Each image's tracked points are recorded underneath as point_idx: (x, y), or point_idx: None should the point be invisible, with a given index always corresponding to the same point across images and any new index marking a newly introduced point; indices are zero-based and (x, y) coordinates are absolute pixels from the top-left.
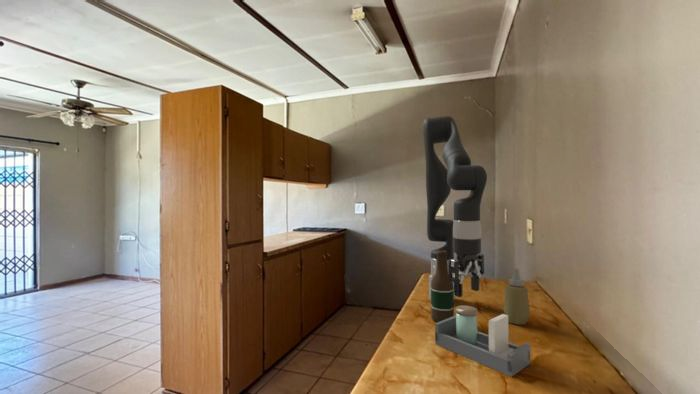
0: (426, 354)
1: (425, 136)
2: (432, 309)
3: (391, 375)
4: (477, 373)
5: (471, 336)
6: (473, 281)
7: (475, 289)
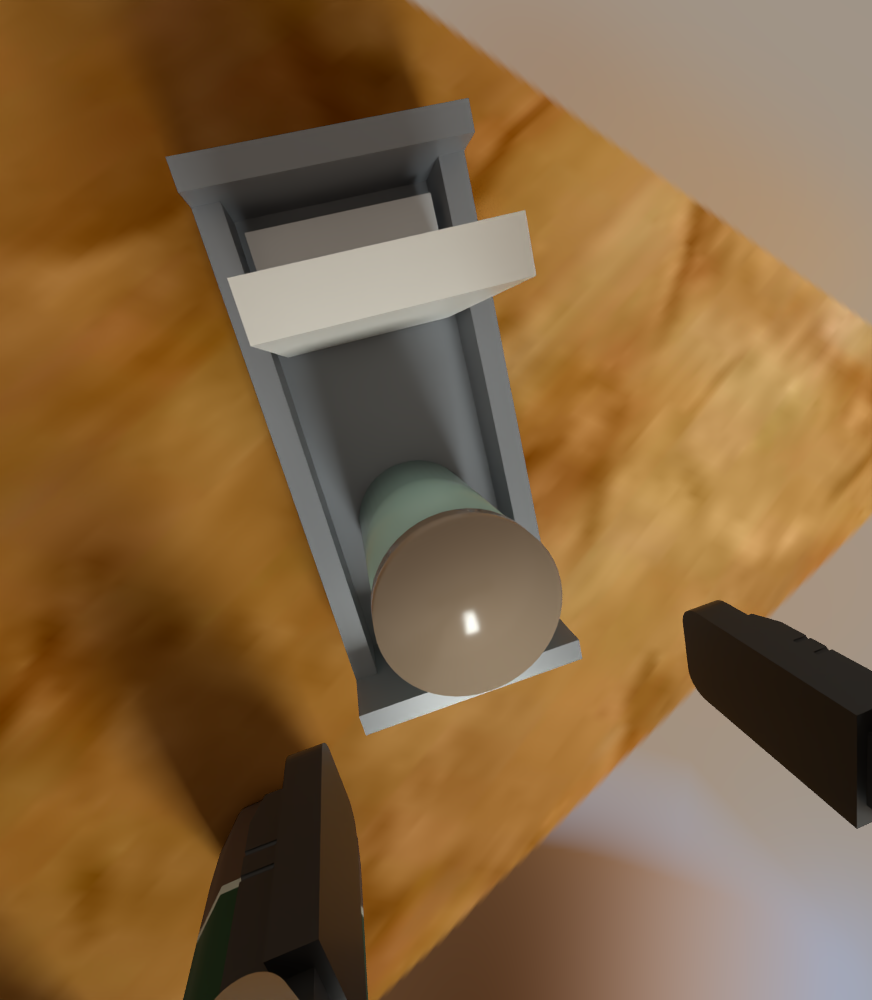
0: (635, 526)
1: None
2: (361, 902)
3: (856, 433)
4: (562, 277)
5: (450, 476)
6: (350, 922)
7: (334, 779)
